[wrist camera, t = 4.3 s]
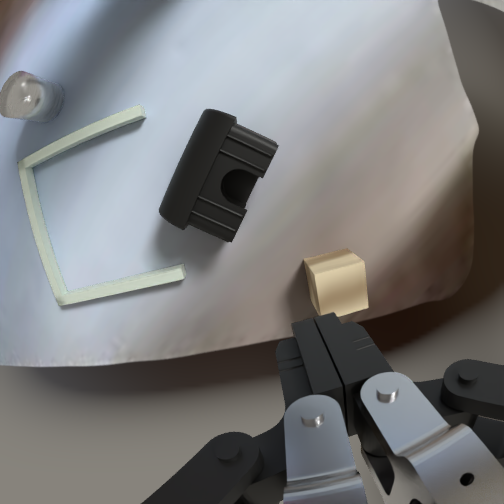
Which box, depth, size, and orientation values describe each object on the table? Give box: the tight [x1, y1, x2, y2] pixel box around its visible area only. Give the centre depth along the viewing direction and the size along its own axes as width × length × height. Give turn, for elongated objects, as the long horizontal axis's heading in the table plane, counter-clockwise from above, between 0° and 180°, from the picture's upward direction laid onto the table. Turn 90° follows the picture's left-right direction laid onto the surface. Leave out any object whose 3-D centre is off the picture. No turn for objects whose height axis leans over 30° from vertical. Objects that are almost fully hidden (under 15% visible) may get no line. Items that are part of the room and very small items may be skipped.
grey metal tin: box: [0, 71, 64, 123], centre depth 22 cm, size 5×5×7 cm
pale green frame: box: [17, 105, 186, 306], centre depth 29 cm, size 18×17×2 cm
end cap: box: [159, 109, 279, 242], centre depth 26 cm, size 10×7×7 cm
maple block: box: [304, 249, 368, 317], centre depth 30 cm, size 5×5×5 cm
